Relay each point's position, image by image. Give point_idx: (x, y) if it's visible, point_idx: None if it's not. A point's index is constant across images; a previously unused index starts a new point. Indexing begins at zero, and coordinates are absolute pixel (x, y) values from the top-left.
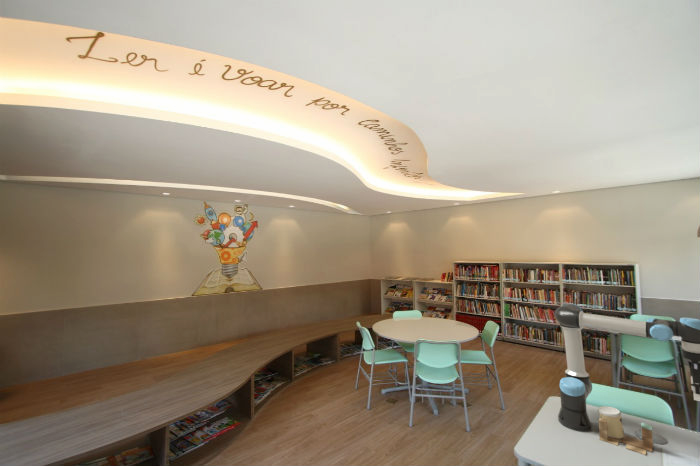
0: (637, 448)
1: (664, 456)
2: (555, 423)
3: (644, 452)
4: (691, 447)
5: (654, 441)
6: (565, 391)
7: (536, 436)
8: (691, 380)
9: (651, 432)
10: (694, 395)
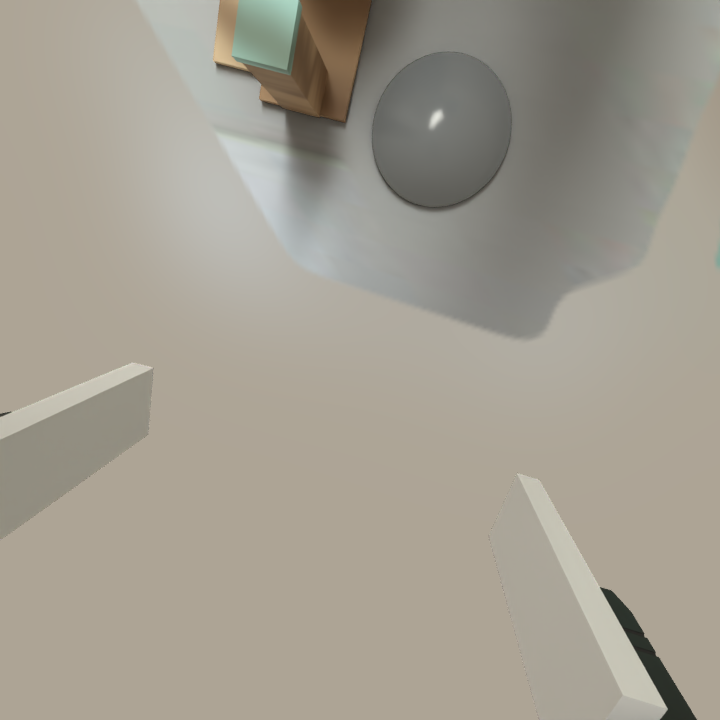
0: None
1: (258, 151)
2: None
3: (227, 57)
4: (416, 297)
5: (383, 139)
6: None
7: None
8: (577, 610)
9: (247, 66)
10: (84, 391)
